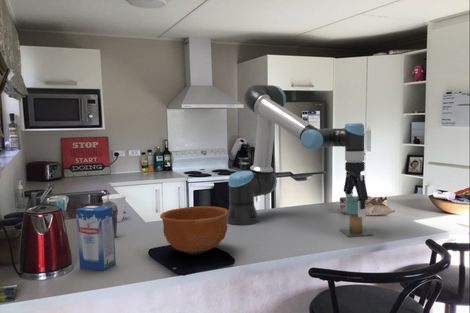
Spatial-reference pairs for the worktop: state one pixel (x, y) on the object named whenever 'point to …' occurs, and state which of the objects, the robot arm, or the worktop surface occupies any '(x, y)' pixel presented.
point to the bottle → (355, 227)
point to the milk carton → (96, 237)
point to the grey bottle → (115, 212)
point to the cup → (117, 203)
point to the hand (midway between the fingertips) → (355, 213)
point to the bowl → (195, 227)
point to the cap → (352, 205)
